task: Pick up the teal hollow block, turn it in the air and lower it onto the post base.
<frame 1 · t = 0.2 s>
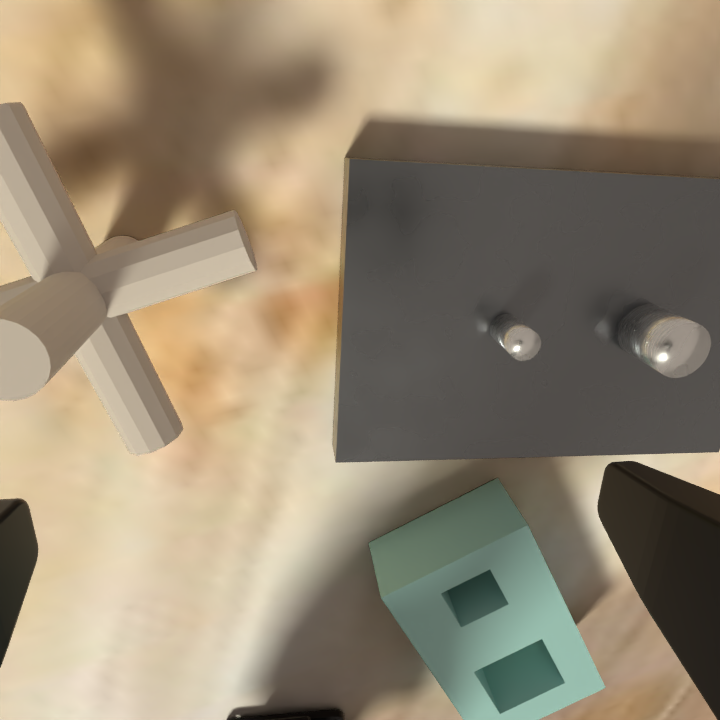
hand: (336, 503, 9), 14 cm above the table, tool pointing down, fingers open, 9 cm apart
pipe connector: (126, 259, 21), on the table
teal hollow block: (477, 590, 29), on the table
post base: (546, 317, 24), on the table
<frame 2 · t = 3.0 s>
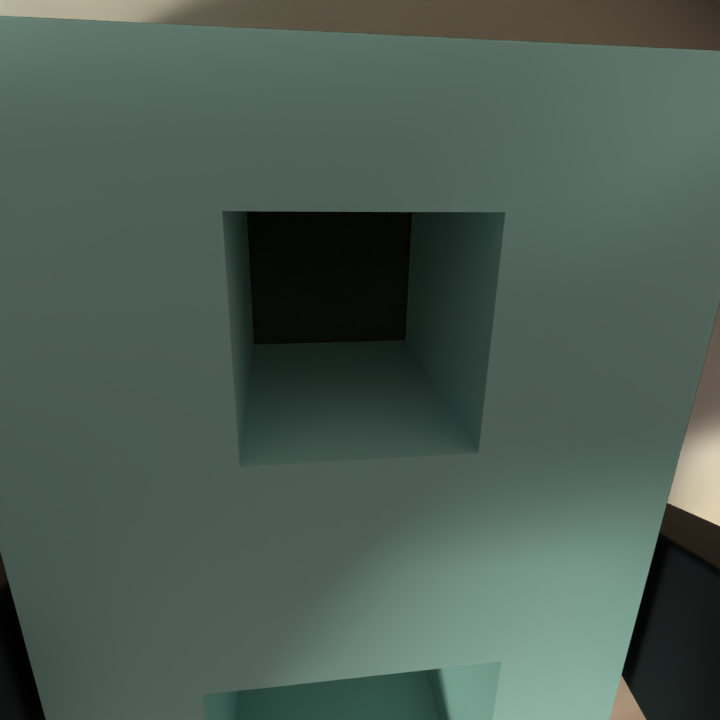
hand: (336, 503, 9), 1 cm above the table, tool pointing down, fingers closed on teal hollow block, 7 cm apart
teal hollow block: (330, 467, 10), on the table, touching gripper
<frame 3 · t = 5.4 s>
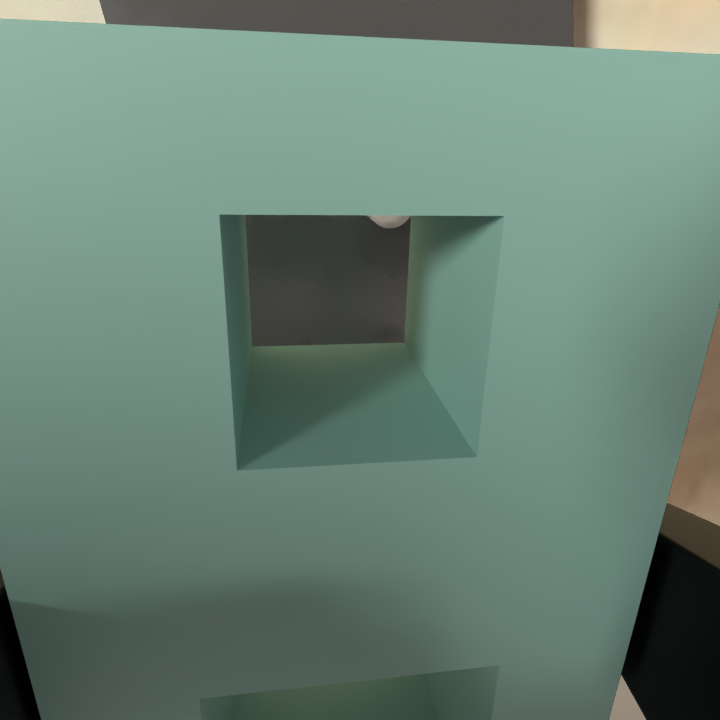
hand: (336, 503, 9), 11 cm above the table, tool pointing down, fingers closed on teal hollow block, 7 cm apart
teal hollow block: (329, 470, 10), point 10 cm above the table, touching gripper
post base: (378, 269, 18), on the table
when the fingers open (3 cm above the table, at t = 8.3 s): teal hollow block stays where it is, resting on post base.
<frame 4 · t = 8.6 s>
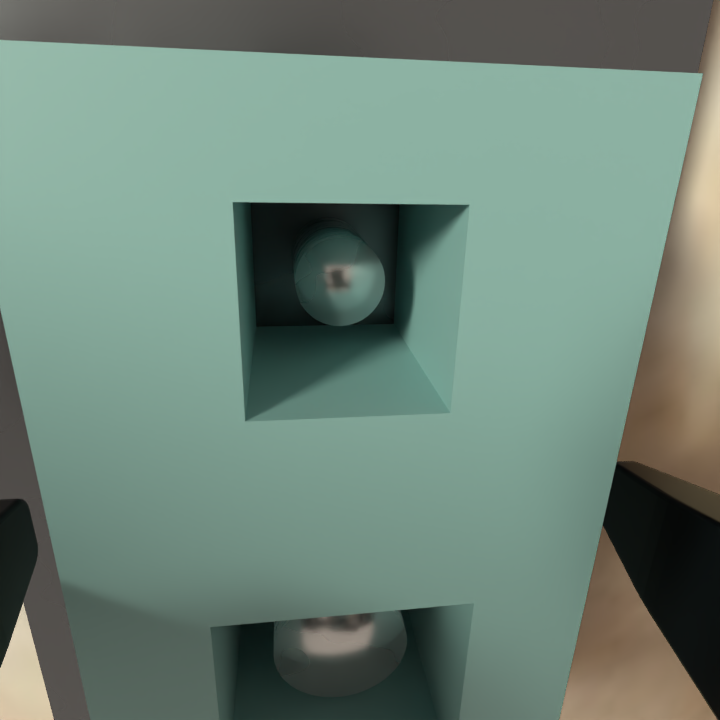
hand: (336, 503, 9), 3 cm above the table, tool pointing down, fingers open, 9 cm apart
teal hollow block: (325, 441, 10), point 1 cm above the table, touching post base
post base: (322, 361, 12), on the table
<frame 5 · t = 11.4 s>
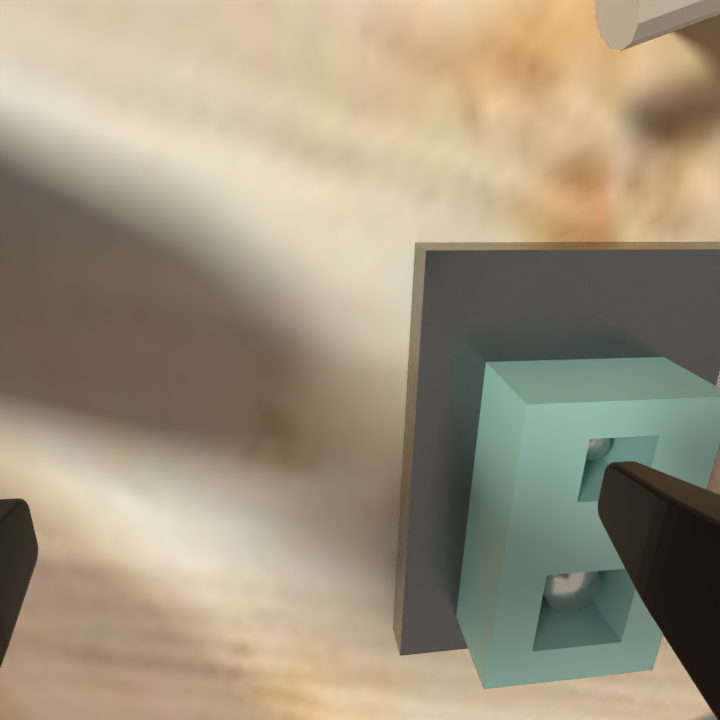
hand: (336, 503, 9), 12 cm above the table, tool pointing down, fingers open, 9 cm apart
teal hollow block: (552, 496, 23), point 1 cm above the table, touching post base
post base: (540, 455, 24), on the table
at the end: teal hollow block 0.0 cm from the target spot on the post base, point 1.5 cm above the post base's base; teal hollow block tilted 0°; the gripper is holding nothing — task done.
